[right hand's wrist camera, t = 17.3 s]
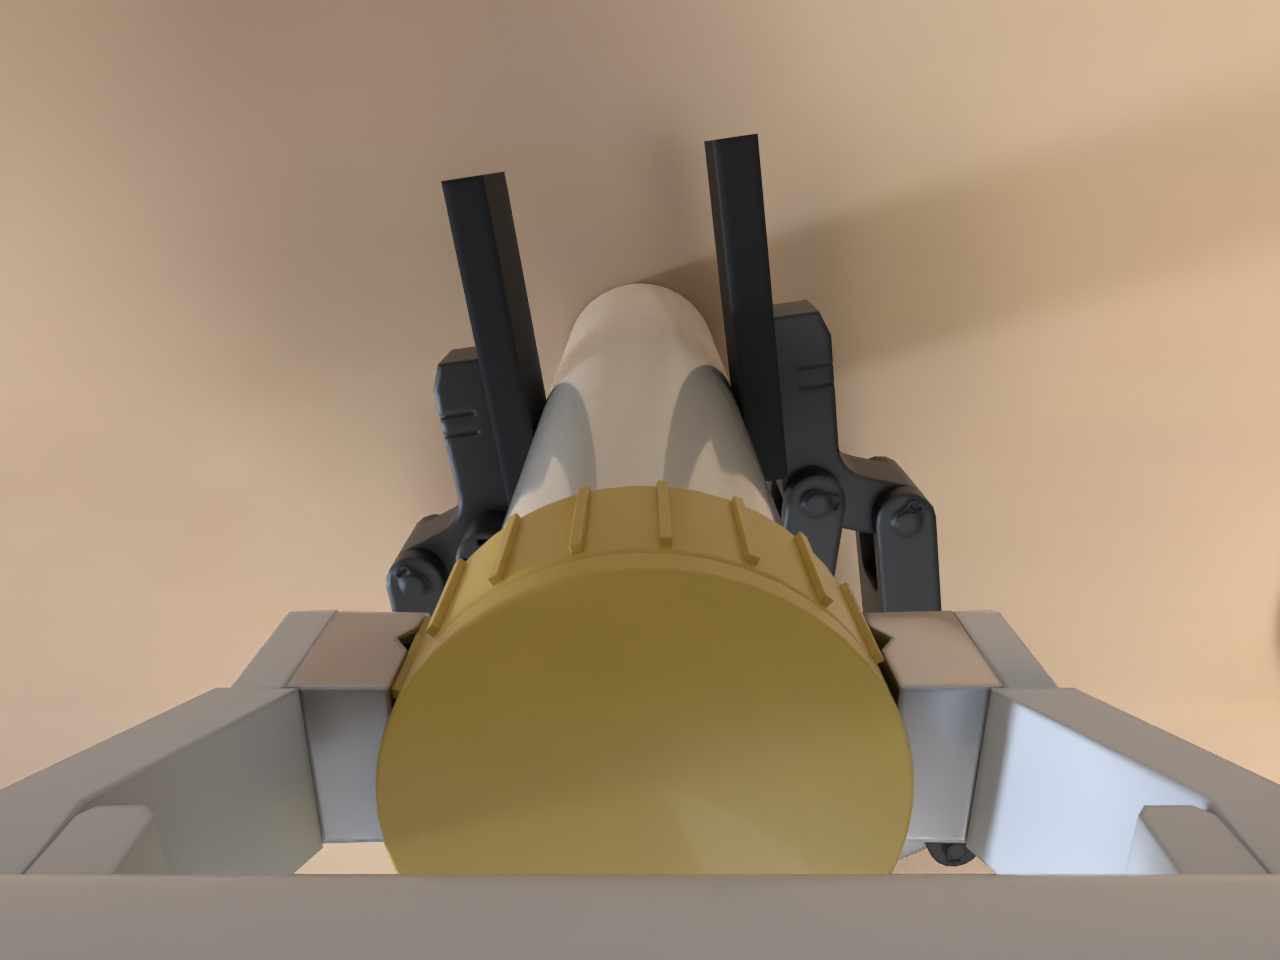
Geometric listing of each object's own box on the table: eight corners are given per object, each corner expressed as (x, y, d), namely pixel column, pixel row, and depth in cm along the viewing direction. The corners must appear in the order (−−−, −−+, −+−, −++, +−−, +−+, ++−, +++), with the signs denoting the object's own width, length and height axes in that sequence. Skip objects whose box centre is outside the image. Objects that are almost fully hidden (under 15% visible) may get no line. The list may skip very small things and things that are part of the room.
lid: (455, 429, 9) (407, 506, 7) (933, 534, 9) (1005, 631, 7) (390, 822, 11) (339, 964, 9) (794, 895, 11) (826, 1045, 9)
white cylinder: (694, 265, 24) (811, 525, 8) (729, 407, 26) (888, 878, 9) (548, 305, 25) (367, 633, 8) (590, 442, 26) (508, 957, 10)
